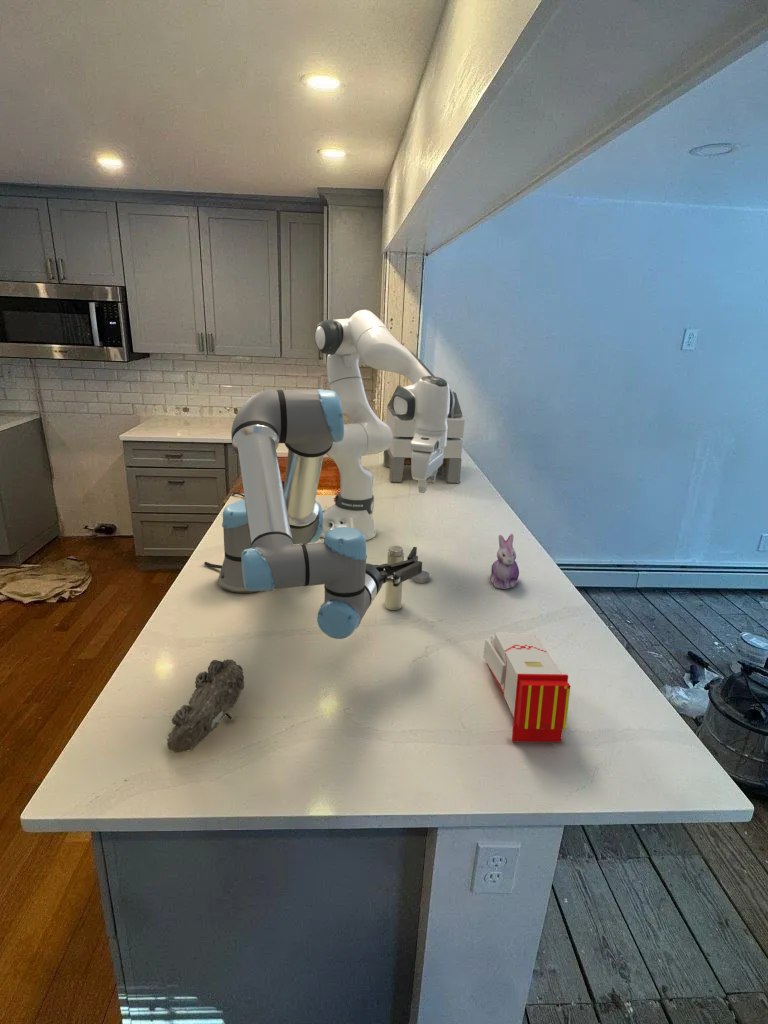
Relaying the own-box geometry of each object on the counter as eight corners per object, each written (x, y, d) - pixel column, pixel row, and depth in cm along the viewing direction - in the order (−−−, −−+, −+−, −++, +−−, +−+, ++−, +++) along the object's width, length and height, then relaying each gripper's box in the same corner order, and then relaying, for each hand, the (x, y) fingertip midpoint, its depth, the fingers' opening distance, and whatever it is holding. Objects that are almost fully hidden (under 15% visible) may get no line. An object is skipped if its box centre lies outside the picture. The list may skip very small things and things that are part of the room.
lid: (415, 573, 170) (415, 568, 170) (432, 577, 169) (432, 572, 168) (408, 580, 166) (409, 575, 165) (425, 584, 164) (426, 579, 163)
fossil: (192, 660, 117) (244, 628, 112) (224, 691, 120) (276, 661, 115) (142, 746, 98) (202, 712, 93) (182, 779, 101) (242, 748, 96)
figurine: (502, 593, 161) (508, 544, 156) (480, 578, 169) (486, 531, 164) (528, 587, 165) (535, 539, 160) (505, 572, 173) (511, 527, 168)
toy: (532, 616, 130) (580, 681, 101) (527, 670, 133) (572, 749, 103) (479, 615, 129) (512, 680, 100) (475, 669, 132) (506, 748, 103)
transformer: (382, 463, 289) (386, 382, 275) (445, 464, 293) (451, 384, 279) (390, 482, 257) (394, 392, 243) (460, 483, 261) (468, 394, 247)
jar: (394, 612, 148) (398, 553, 143) (381, 606, 151) (384, 548, 145) (404, 605, 152) (407, 548, 146) (391, 600, 154) (394, 543, 148)
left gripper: (303, 593, 120) (337, 554, 139) (418, 613, 114) (437, 570, 133) (303, 561, 117) (337, 526, 137) (421, 580, 112) (439, 540, 131)
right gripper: (429, 430, 163) (426, 476, 168) (408, 444, 145) (405, 496, 150) (450, 432, 161) (447, 479, 166) (432, 447, 143) (428, 499, 148)
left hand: (387, 547), depth 135 cm, fingers open, 13 cm apart
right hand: (427, 487), depth 158 cm, fingers open, 8 cm apart
